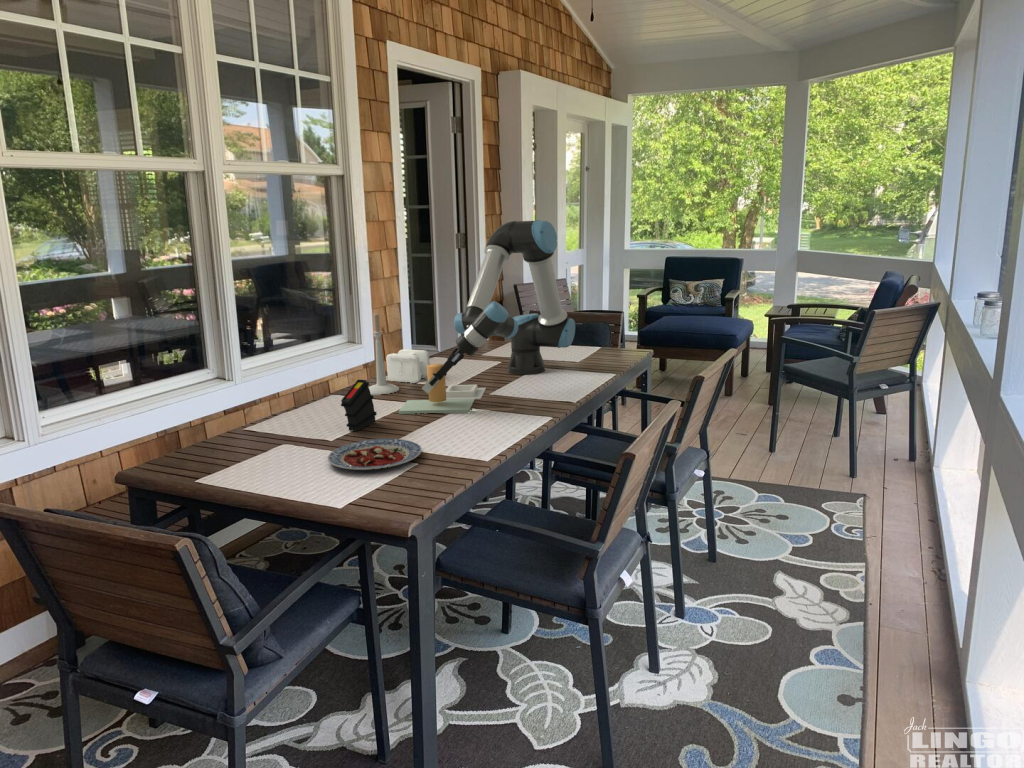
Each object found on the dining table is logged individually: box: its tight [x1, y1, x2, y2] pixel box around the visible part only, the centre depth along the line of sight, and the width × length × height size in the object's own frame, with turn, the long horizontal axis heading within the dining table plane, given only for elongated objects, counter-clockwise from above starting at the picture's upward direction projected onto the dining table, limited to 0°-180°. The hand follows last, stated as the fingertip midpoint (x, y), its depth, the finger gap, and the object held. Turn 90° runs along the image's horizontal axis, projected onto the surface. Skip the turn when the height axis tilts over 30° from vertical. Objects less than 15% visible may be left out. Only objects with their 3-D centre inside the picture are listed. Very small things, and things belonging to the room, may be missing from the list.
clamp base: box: [446, 384, 487, 400], centre depth 279 cm, size 16×16×3 cm
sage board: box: [398, 399, 476, 415], centre depth 264 cm, size 24×14×1 cm, turn 85°
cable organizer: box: [385, 348, 431, 384], centre depth 306 cm, size 15×11×12 cm
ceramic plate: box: [327, 438, 423, 471], centre depth 213 cm, size 26×26×3 cm
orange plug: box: [426, 363, 447, 402], centre depth 263 cm, size 6×6×12 cm
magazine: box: [340, 379, 377, 432], centre depth 244 cm, size 4×13×15 cm, turn 155°
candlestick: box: [368, 313, 400, 396], centre depth 288 cm, size 13×13×30 cm
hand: (426, 388), depth 264 cm, fingers closed on orange plug, 6 cm apart
